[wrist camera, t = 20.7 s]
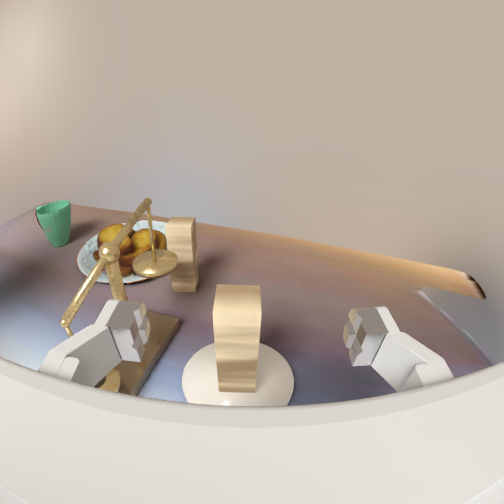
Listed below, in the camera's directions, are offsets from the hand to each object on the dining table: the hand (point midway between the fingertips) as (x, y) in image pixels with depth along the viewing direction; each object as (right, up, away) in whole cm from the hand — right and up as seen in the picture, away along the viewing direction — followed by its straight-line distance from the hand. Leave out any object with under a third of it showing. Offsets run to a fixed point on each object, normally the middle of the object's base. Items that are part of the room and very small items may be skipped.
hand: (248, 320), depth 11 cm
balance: (-15, -11, +24) cm, 30 cm away
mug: (-52, +5, +51) cm, 73 cm away
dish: (-1, -13, +21) cm, 24 cm away
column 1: (-11, -3, +38) cm, 40 cm away
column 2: (-1, -12, +20) cm, 23 cm away
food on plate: (-26, +2, +47) cm, 54 cm away
